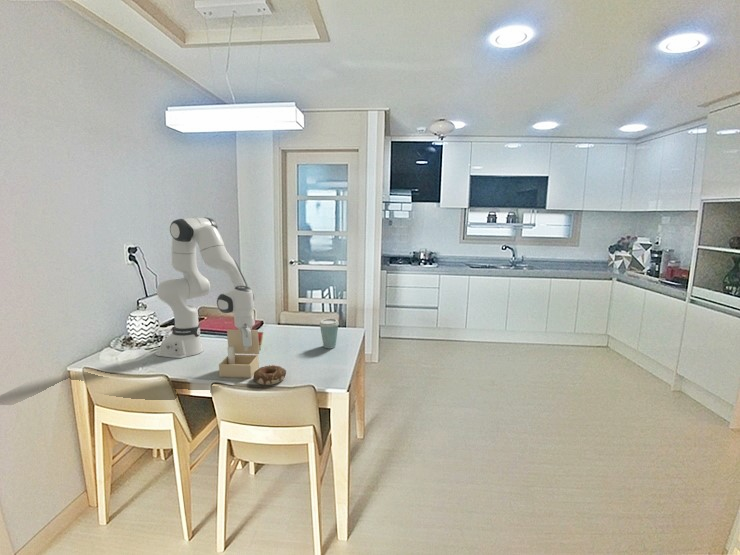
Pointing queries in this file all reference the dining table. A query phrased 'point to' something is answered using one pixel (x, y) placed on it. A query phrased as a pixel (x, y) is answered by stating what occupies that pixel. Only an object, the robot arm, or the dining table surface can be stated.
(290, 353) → the dining table surface
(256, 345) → the lid
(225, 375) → the box
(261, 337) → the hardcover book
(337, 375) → the dining table surface
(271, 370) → the donut
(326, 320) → the disposable coffee cup
